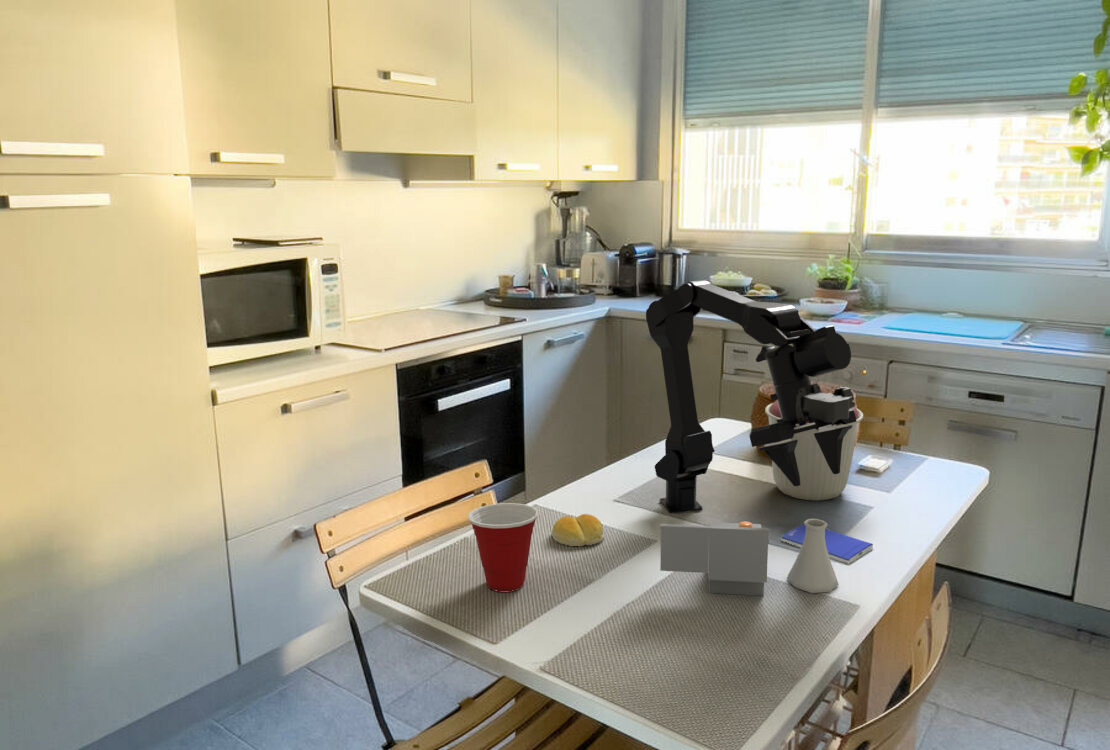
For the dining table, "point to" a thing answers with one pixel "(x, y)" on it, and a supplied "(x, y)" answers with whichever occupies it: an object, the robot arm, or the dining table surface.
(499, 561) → the plastic cup
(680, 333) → the robot arm
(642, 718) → the dining table surface
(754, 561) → the side door
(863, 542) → the hard drive
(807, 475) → the canister
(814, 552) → the flask
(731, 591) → the grey box
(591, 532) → the bread roll
